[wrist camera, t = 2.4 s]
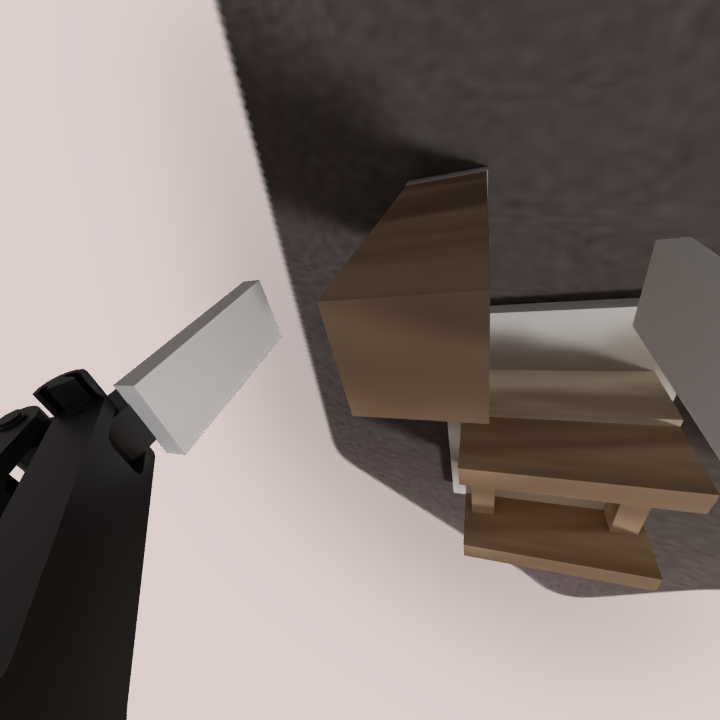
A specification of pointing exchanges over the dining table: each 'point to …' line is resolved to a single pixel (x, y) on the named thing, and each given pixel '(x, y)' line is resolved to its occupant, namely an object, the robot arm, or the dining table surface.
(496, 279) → the dining table surface
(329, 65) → the dining table surface
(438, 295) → the tall wooden block
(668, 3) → the dining table surface
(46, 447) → the robot arm
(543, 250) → the dining table surface
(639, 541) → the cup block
